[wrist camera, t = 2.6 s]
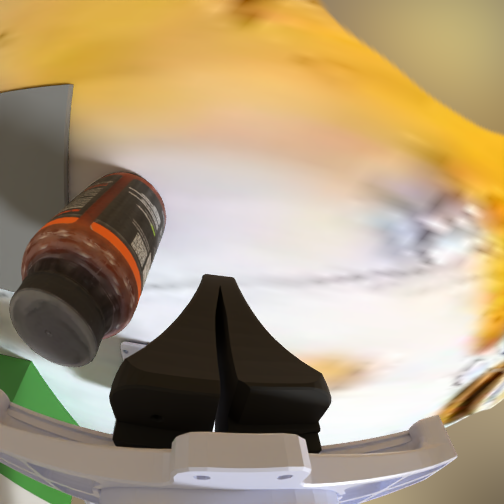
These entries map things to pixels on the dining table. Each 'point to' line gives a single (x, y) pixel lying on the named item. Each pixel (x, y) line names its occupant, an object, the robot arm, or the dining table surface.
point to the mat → (31, 169)
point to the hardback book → (38, 400)
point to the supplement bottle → (88, 269)
